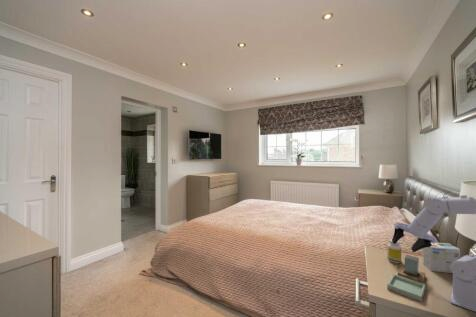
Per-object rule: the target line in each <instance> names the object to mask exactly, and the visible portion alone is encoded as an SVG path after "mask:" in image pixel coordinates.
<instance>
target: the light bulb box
mask: <svg viewBox="0 0 476 317" xmlns="http://www.w3.org/2000/svg"><path fill="white" fill-rule="evenodd" d="M431 244H432V245H431V246H430V247H425V248H422V249H423V250H422V254H423V255H422V256H423V258H422V260H423V261H422V264H423V265H424V266H425V267H426V268H427V269H429V270H430V271H431V272H439V273H440V272H441V273H449V274H450V273H451V274H453V273H452V271H451V268H450V265H451V263H452V262H454V261H457V260H458V259H460V258H461V249H460V248H459V247H456V246H455V245H453V244H452V243H447V242H446V243H445V242H435V243H434V244H433V243H431Z"/></svg>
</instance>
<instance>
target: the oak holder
mask: <svg viewBox="0 0 476 317" xmlns="http://www.w3.org/2000/svg"><path fill="white" fill-rule="evenodd" d="M397 275H398V276H401V277H404V278H407V279H410V280H413V281H416V282H419V283H422V284H424V282H425V279H426V272H423V271H419V270H418V278H417V277H414V276H411V275H408V274H405V266H403V265H402V266H400V268H399V270H398V272H397Z"/></svg>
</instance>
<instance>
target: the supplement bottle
mask: <svg viewBox="0 0 476 317" xmlns="http://www.w3.org/2000/svg"><path fill="white" fill-rule="evenodd" d="M392 239H393V238H390V239H389V243H388V244H387V256H386V257H387V258H386V259H387V260H388V261H389V262H391V263H394V264H401V263H402V247H401V246H400V244H401V242H400V240H398V241H397V243H396V244H393V242H392Z"/></svg>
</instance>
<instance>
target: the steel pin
mask: <svg viewBox="0 0 476 317" xmlns="http://www.w3.org/2000/svg"><path fill="white" fill-rule="evenodd" d="M419 263H420V262H419V257H417V256H412V255H410V254H405V257H404V267H405V274H408V275H411V276H414V277H417V278H419V276H418V271H419Z"/></svg>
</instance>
